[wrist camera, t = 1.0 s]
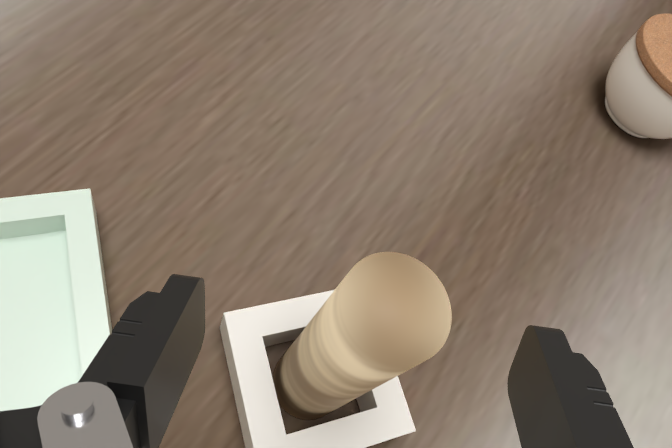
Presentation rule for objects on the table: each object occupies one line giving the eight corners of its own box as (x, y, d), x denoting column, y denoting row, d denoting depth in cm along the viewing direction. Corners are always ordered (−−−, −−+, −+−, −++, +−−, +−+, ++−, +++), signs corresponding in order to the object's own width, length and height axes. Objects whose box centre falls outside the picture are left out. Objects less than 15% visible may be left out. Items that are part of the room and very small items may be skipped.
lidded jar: (563, 83, 52) (635, 8, 44) (629, 61, 57) (705, -10, 49) (632, 172, 49) (723, 108, 41) (696, 141, 54) (788, 78, 46)
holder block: (252, 483, 30) (261, 481, 27) (219, 327, 33) (223, 312, 30) (396, 436, 33) (415, 430, 30) (353, 298, 36) (367, 283, 34)
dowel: (282, 428, 31) (362, 378, 18) (264, 355, 33) (326, 262, 20) (351, 408, 33) (468, 349, 20) (331, 339, 34) (427, 243, 22)
